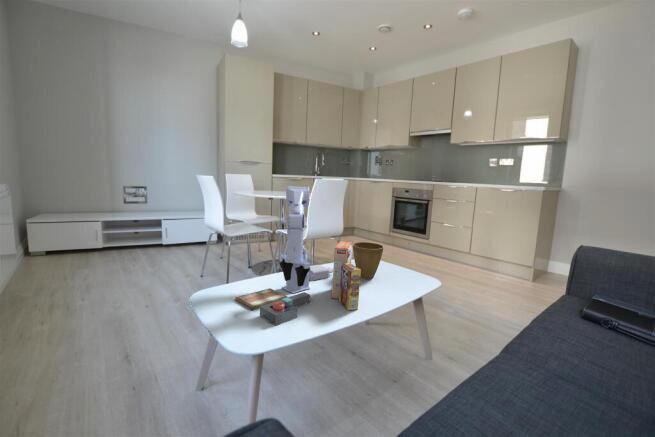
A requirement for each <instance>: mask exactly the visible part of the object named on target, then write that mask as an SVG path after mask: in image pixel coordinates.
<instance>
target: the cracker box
mask: <svg viewBox="0 0 655 437" xmlns="http://www.w3.org/2000/svg"><path fill="white" fill-rule="evenodd" d="M353 244H354V243H353V242H352V241H342V240H340V241H339V242H338V243H337V244H336V246H335V247H334V253H333V268H332V270H333V273H332V285H331V298H332V299H335V300H339V296H340V280H341V265H342V264H345V263H350V264H352V260H353V259H352V258H353V256H352V254H353Z"/></svg>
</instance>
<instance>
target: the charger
mask: <svg viewBox="0 0 655 437" xmlns="http://www.w3.org/2000/svg"><path fill="white" fill-rule="evenodd" d="M330 274H333V268H331V267H325V266H323V265H321V264H315V265H310V270H309V281H312V282H313V281H318V280H325V279H328V278H329V277H330Z"/></svg>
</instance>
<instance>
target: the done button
mask: <svg viewBox="0 0 655 437" xmlns="http://www.w3.org/2000/svg"><path fill="white" fill-rule="evenodd" d="M273 309H274V310H276V311H280V310H283V309H285V304H284V303H283V302H275V303H273Z"/></svg>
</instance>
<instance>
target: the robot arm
mask: <svg viewBox="0 0 655 437" xmlns="http://www.w3.org/2000/svg"><path fill="white" fill-rule="evenodd" d="M285 195H286V196H285V199H286V204H287V205H286V206H287V207H288V215H286V230H287V231H286V235H287V238H286V239H287V241H286V242H287V244H286V248H285V249H284V250H283V252H284V253H283V254H281V255H280V262H279V266H280V268H281V271H282V273H283V278H284V282H285V285H284V286H281V289H282V290H285V291H287V292H289V293H291V294H296V293H299V292H302V291H303V292H304V291H306V290H309V289H311V287H310V279H309V270H310V266H311V263H310V262H308V250H307V249H306V248H305V247H304V232H305V231H304V230H305V227H306V216H305V209H306V208H309V201H310V187H309V186H291V185H287V186H286V190H285Z"/></svg>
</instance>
